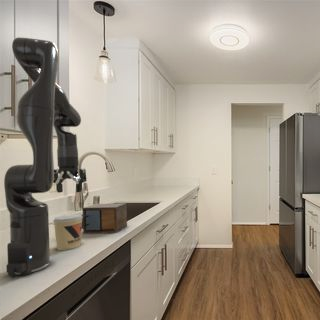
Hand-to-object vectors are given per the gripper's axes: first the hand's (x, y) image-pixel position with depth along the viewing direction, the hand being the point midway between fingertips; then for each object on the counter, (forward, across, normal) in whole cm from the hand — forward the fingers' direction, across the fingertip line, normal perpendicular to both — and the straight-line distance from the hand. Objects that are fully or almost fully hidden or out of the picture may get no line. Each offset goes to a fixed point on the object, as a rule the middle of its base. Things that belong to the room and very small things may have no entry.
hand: (69, 192), depth 105 cm
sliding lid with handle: (+19, +6, +4) cm, 21 cm away
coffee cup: (+20, +8, -11) cm, 24 cm away
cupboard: (+21, +9, +11) cm, 25 cm away
